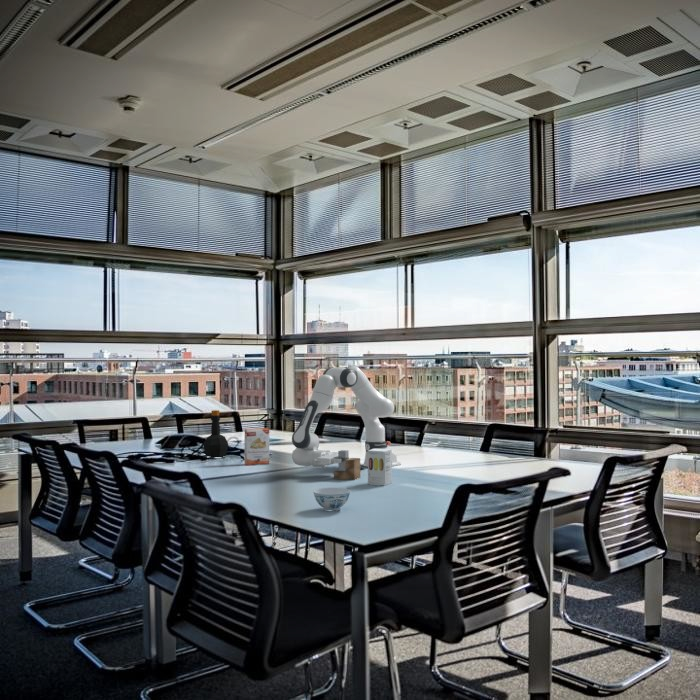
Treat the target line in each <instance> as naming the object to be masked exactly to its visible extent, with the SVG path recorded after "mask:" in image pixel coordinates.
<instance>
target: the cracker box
mask: <svg viewBox="0 0 700 700" xmlns="http://www.w3.org/2000/svg"><path fill="white" fill-rule="evenodd" d="M253 464H260V465H270V428H246V429H244V465H246V466H254V465H253Z"/></svg>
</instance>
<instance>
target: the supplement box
mask: <svg viewBox="0 0 700 700" xmlns="http://www.w3.org/2000/svg"><path fill="white" fill-rule="evenodd" d="M392 451H393V450H392V449H390V448H389V449H376V448H375V449H371V450H368V467H367V485H368V484H372V485H371V486H380V485H384V486H383V487H386V486H388V485H390V484H392V483H393V475H392V469H393V466H392ZM385 485H386V486H385Z"/></svg>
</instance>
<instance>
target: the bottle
mask: <svg viewBox="0 0 700 700" xmlns="http://www.w3.org/2000/svg"><path fill="white" fill-rule="evenodd" d="M210 421H211V425H210V426H211V428H210V430H211V432H210V433H211V434H210V435H209V436H207V437H206V438H205V440H204V441H203V450H204V453H205V456H206V455H208V456H211V457H223V456H225V457H226V456H227V452H228V449H229V443H228V440H227V439H226V437H225V436H224V435H222V434H221V425H220V421H221V415H220V410H219V409H218V410H217V409H216V410H211V415H210Z"/></svg>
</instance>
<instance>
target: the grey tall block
mask: <svg viewBox="0 0 700 700" xmlns="http://www.w3.org/2000/svg"><path fill="white" fill-rule="evenodd" d="M349 454H350V453H349V450H348V449H347V450H344V449H341V450H338V459H342V462H341V463H337V464H338V470H339V472H345V460H346V459H349V458H350V456H349Z"/></svg>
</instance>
